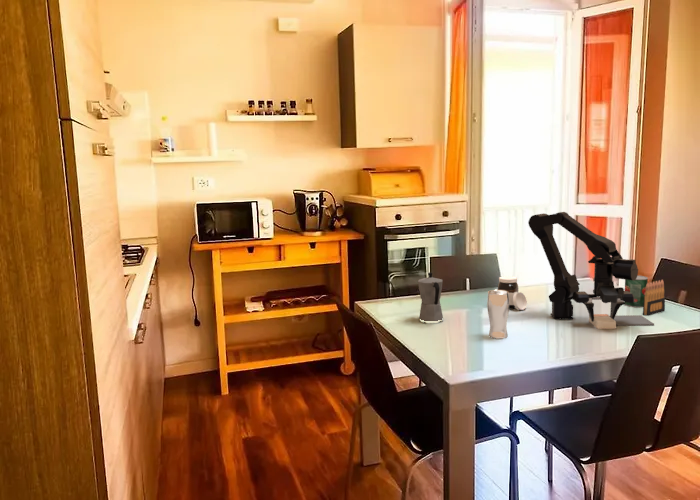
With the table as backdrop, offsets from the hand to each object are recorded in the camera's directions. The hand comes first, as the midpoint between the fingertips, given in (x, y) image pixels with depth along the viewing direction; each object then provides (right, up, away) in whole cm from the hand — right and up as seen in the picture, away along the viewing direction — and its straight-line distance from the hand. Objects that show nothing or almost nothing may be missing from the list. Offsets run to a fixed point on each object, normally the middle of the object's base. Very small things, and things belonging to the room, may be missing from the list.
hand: (602, 321), depth 195 cm
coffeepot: (-57, -2, +13) cm, 58 cm away
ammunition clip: (+25, +1, +12) cm, 28 cm away
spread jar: (-23, +2, +28) cm, 36 cm away
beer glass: (-38, -4, -8) cm, 39 cm away
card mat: (+11, 0, +3) cm, 11 cm away
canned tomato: (+24, +3, +24) cm, 34 cm away
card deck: (0, -1, 0) cm, 1 cm away
